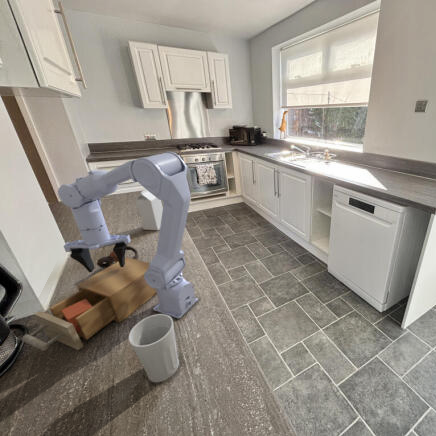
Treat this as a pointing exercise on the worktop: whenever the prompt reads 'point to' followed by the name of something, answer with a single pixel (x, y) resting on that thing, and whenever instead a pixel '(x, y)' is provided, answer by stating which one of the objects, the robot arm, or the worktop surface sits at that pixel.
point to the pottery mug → (114, 258)
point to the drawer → (65, 331)
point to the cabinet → (121, 286)
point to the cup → (156, 346)
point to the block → (76, 312)
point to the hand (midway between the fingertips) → (107, 267)
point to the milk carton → (149, 210)
